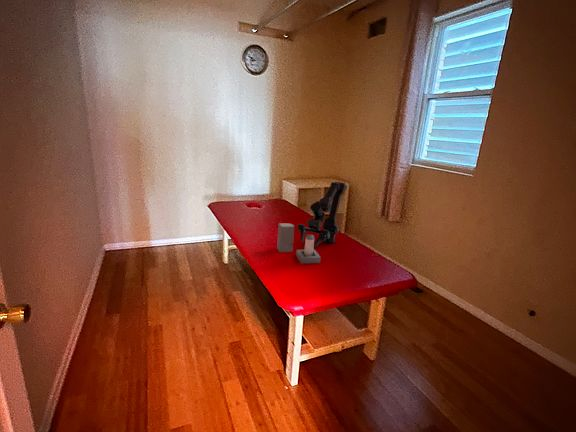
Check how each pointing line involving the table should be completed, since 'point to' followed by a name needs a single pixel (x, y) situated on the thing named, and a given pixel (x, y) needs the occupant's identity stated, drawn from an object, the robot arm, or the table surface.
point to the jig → (308, 257)
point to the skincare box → (285, 237)
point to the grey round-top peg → (309, 245)
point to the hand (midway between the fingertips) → (308, 244)
